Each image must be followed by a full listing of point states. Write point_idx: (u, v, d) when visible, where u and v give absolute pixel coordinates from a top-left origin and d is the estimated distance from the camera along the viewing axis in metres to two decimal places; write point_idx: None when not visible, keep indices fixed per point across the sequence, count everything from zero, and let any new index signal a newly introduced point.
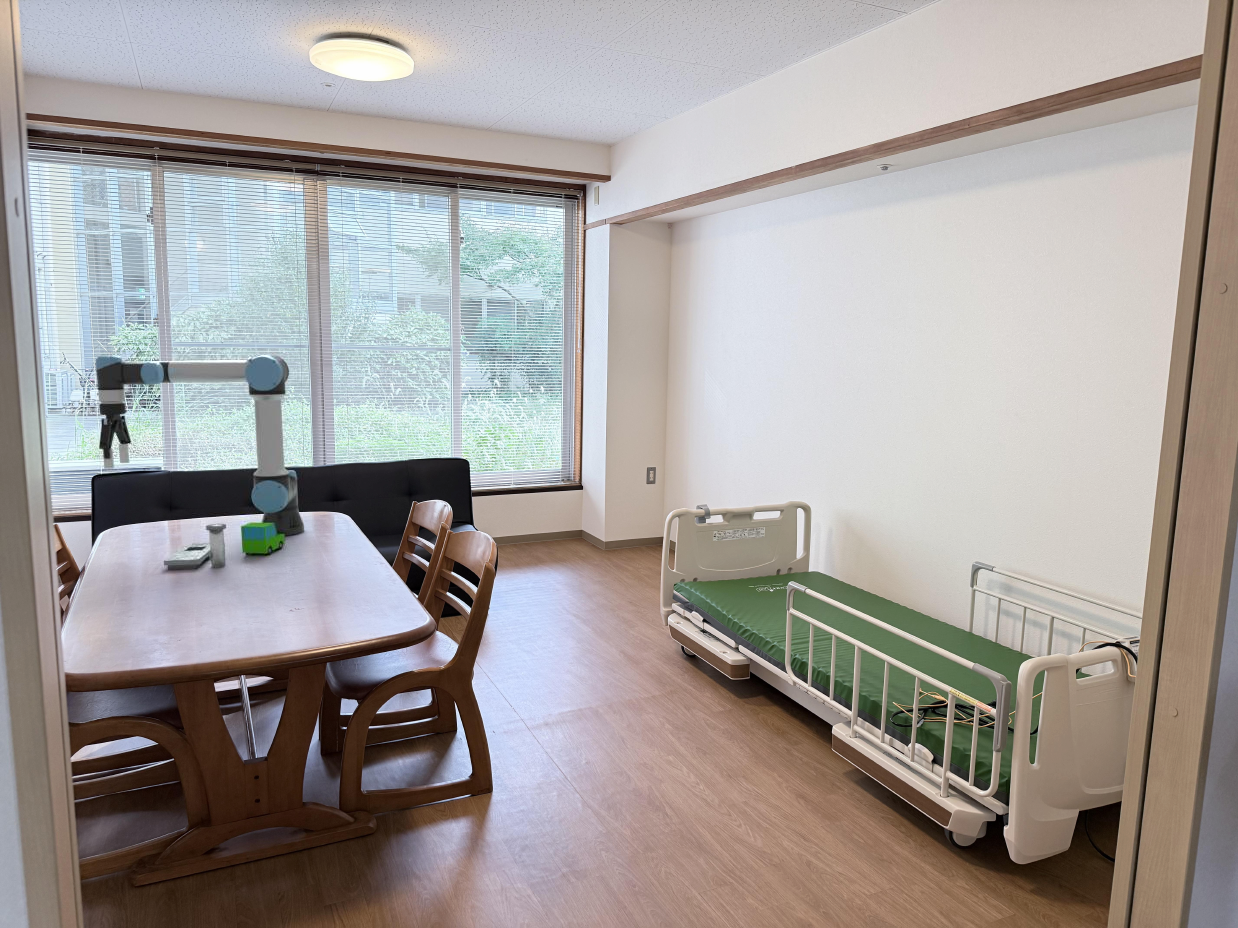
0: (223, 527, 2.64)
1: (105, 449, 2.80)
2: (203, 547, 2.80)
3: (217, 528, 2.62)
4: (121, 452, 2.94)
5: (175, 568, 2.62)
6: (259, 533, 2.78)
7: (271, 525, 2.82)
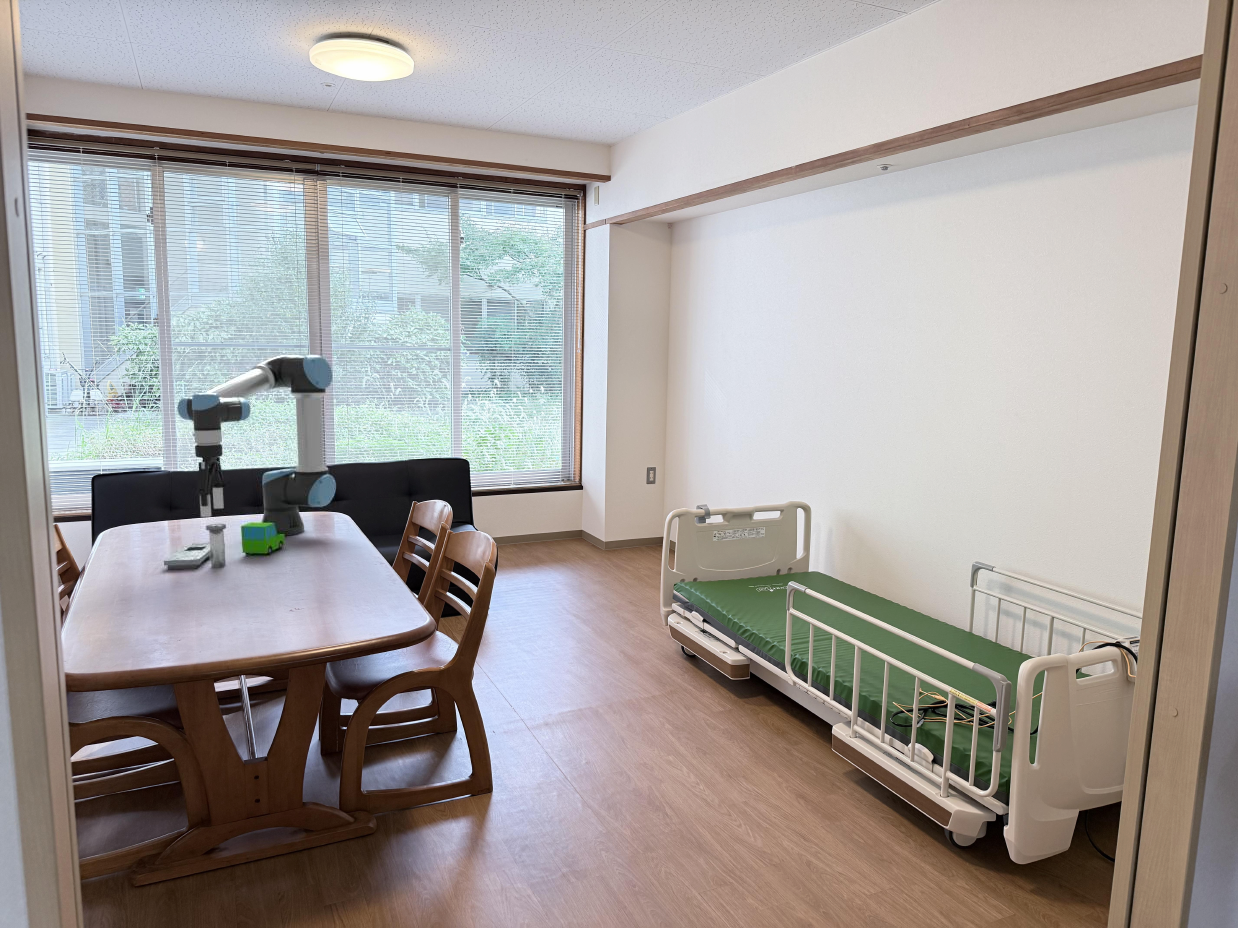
0: (223, 527, 2.64)
1: (202, 496, 2.55)
2: (203, 547, 2.80)
3: (217, 528, 2.62)
4: (215, 496, 2.70)
5: (175, 568, 2.62)
6: (259, 533, 2.78)
7: (271, 525, 2.82)
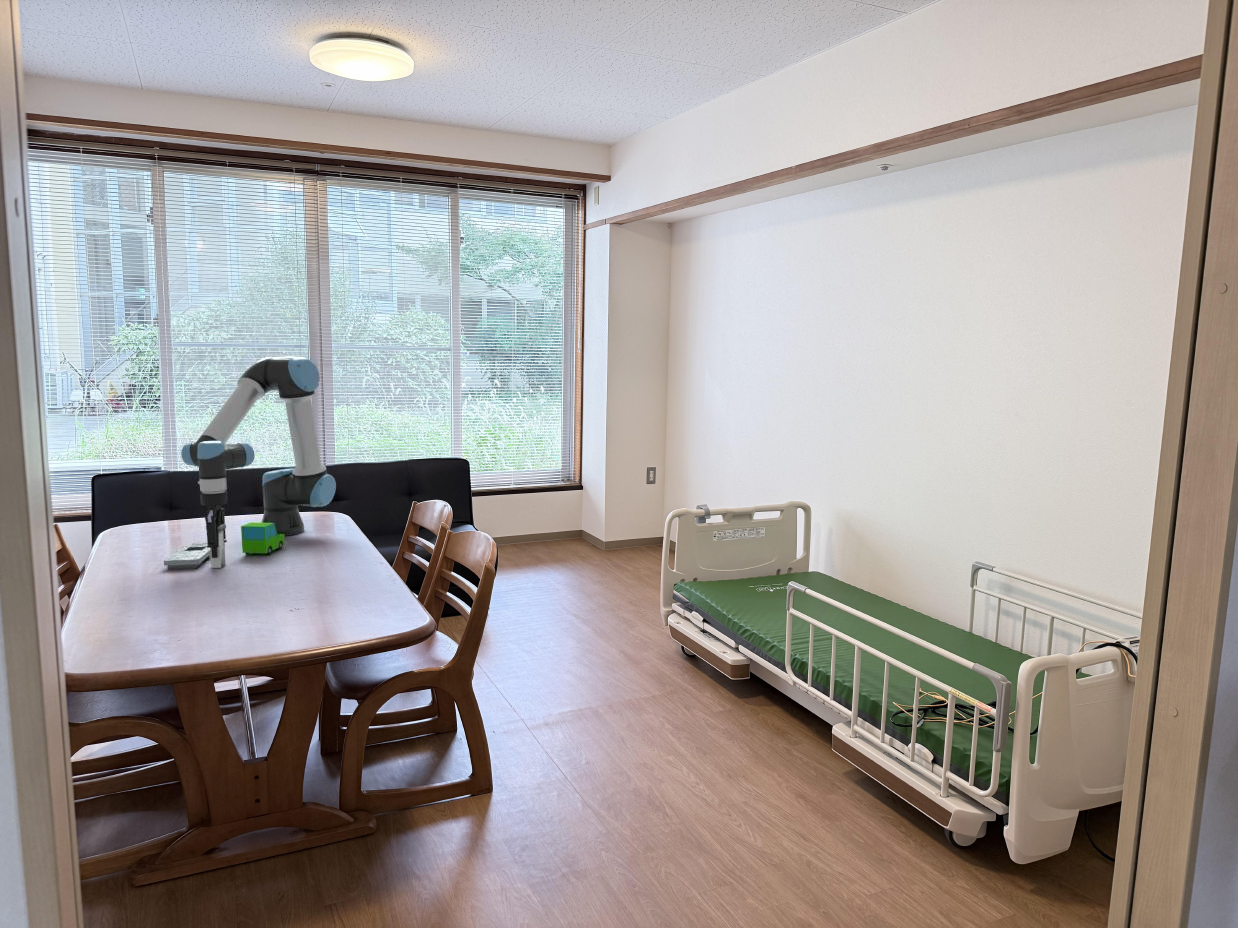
0: (223, 527, 2.64)
1: (213, 548, 2.61)
2: (203, 547, 2.80)
3: None
4: None
5: (175, 568, 2.62)
6: (259, 533, 2.78)
7: (271, 525, 2.82)
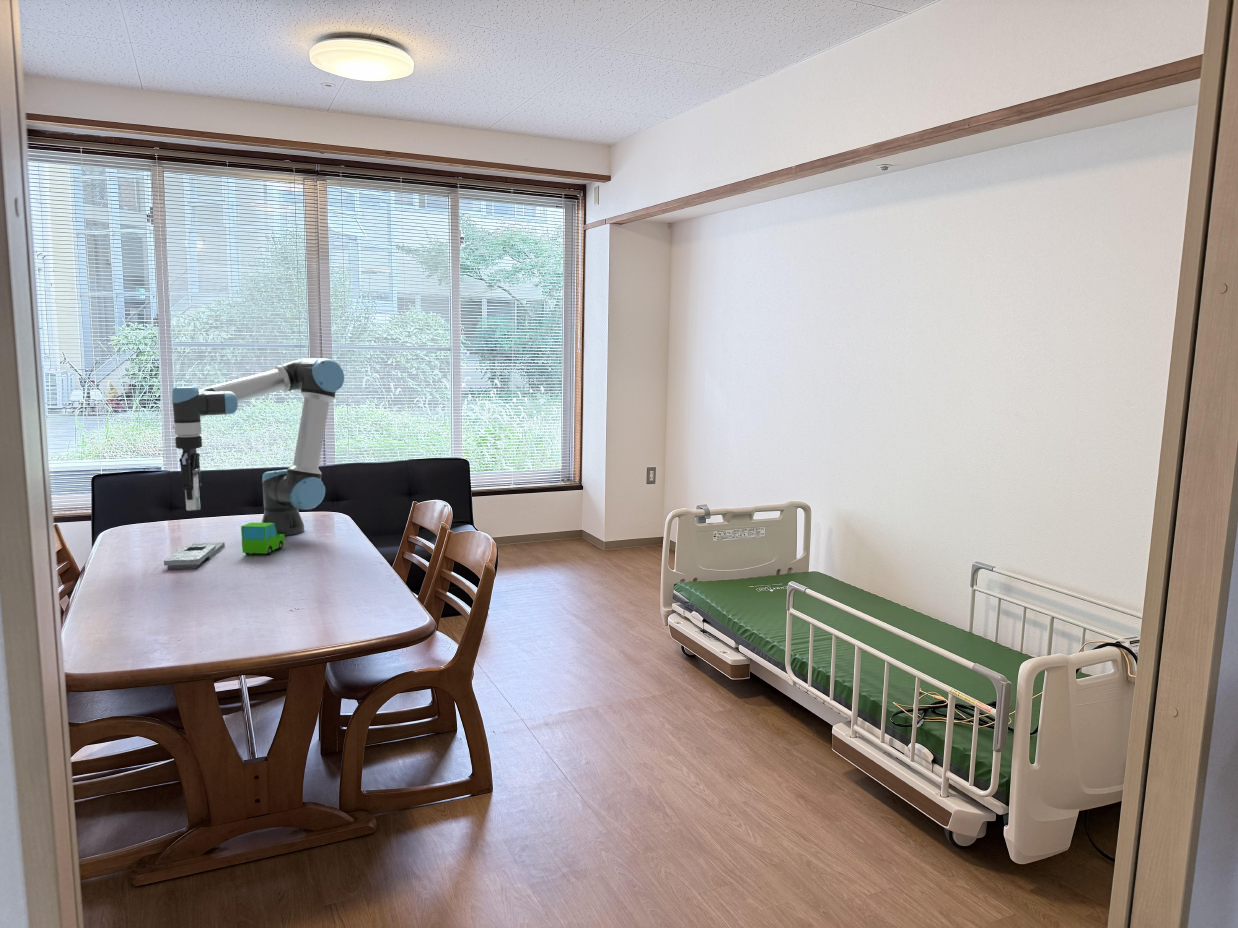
0: (198, 471, 2.72)
1: (188, 490, 2.70)
2: (203, 547, 2.80)
3: None
4: None
5: (175, 568, 2.62)
6: (259, 533, 2.78)
7: (271, 525, 2.82)
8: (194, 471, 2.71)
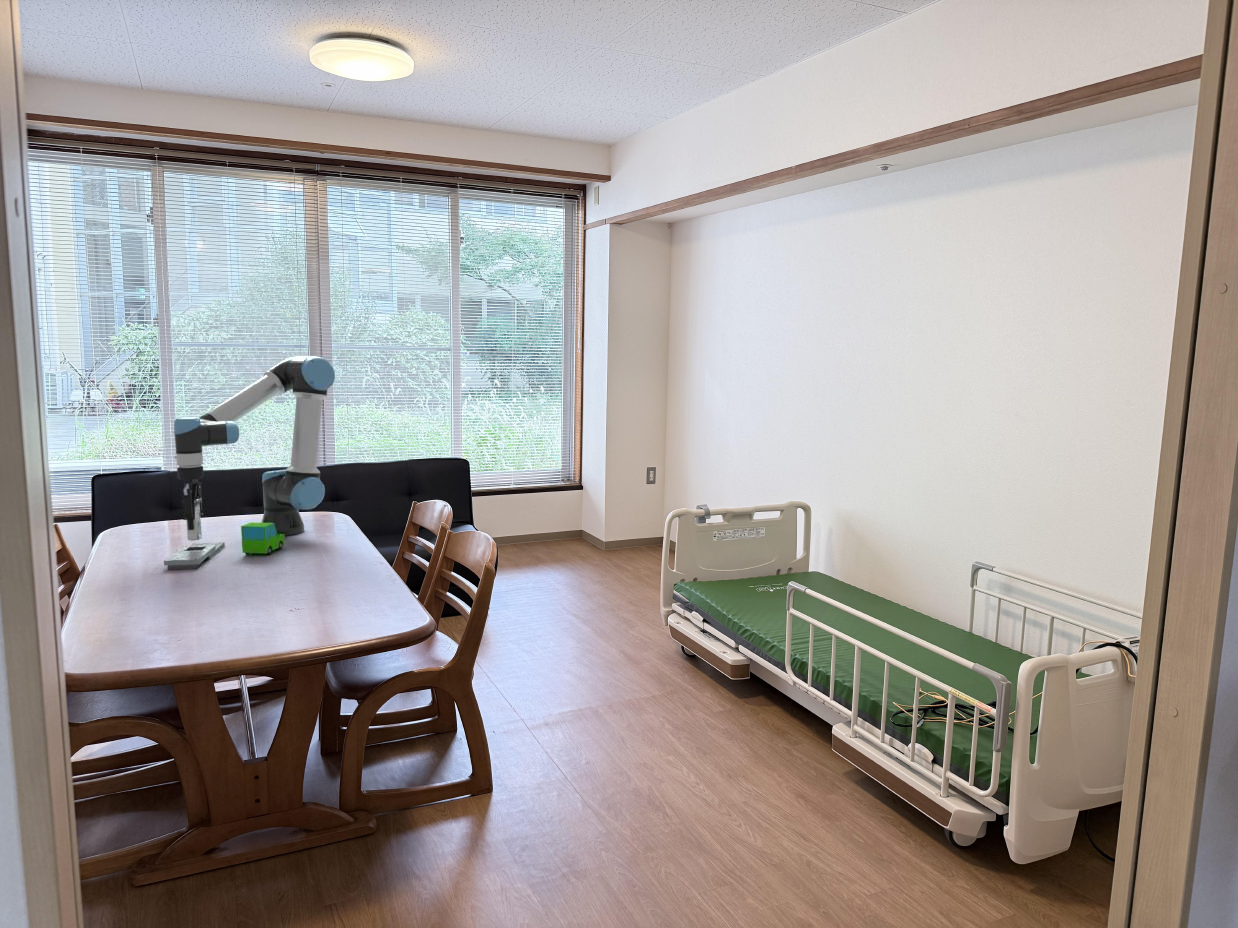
0: (199, 501, 2.74)
1: (189, 520, 2.71)
2: (203, 547, 2.80)
3: None
4: None
5: (175, 568, 2.62)
6: (259, 533, 2.78)
7: (271, 525, 2.82)
8: (195, 501, 2.73)
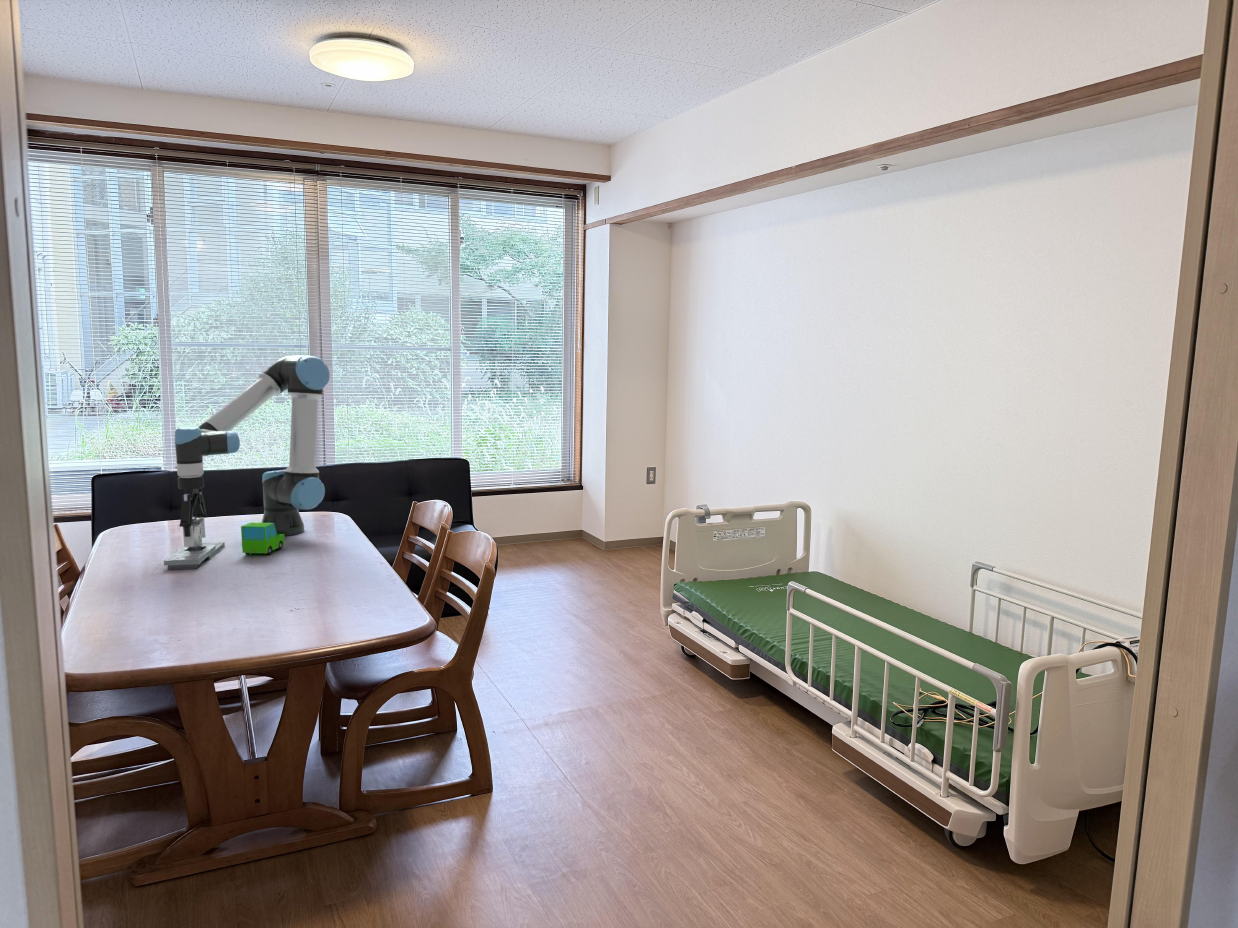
0: (200, 520, 2.75)
1: (185, 527, 2.68)
2: (203, 547, 2.80)
3: (194, 521, 2.73)
4: None
5: (175, 568, 2.62)
6: (259, 533, 2.78)
7: (271, 525, 2.82)
8: (197, 520, 2.73)
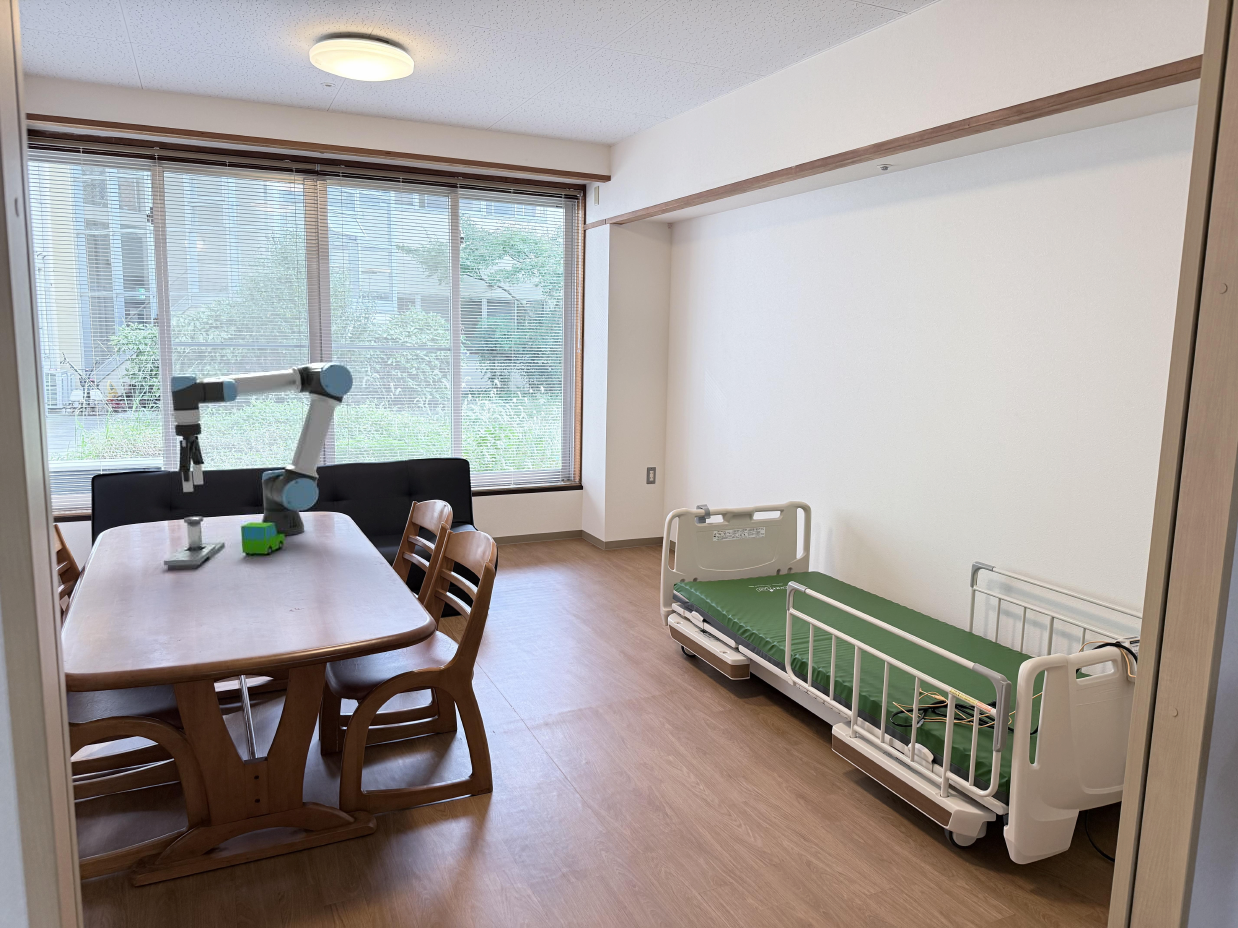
0: (200, 520, 2.75)
1: (185, 472, 2.71)
2: (203, 547, 2.80)
3: (194, 521, 2.73)
4: (195, 473, 2.85)
5: (175, 568, 2.62)
6: (259, 533, 2.78)
7: (271, 525, 2.82)
8: (197, 520, 2.73)
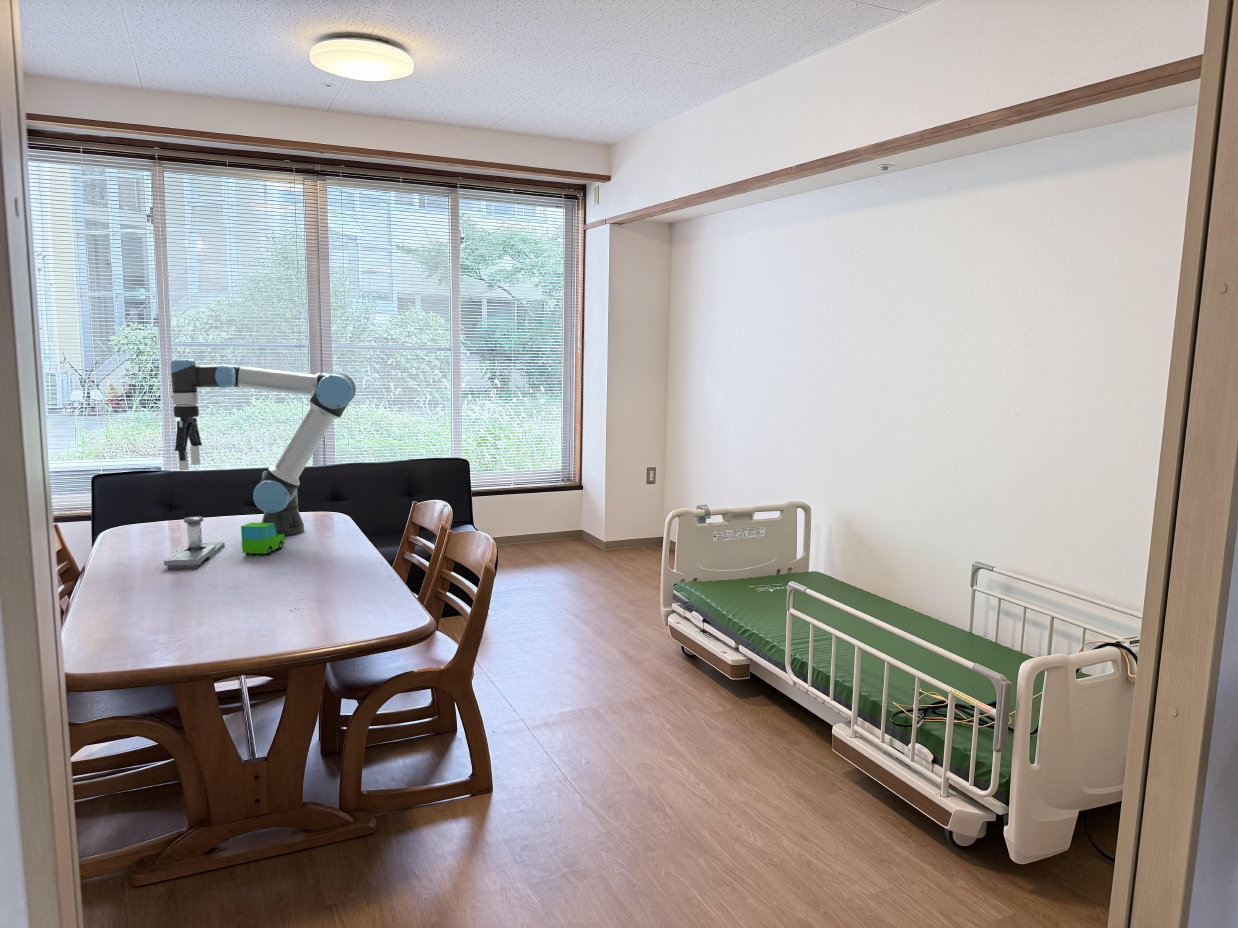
0: (200, 520, 2.75)
1: (180, 451, 2.84)
2: (203, 547, 2.80)
3: (194, 521, 2.73)
4: (192, 454, 2.98)
5: (175, 568, 2.62)
6: (259, 533, 2.78)
7: (271, 525, 2.82)
8: (197, 520, 2.73)
